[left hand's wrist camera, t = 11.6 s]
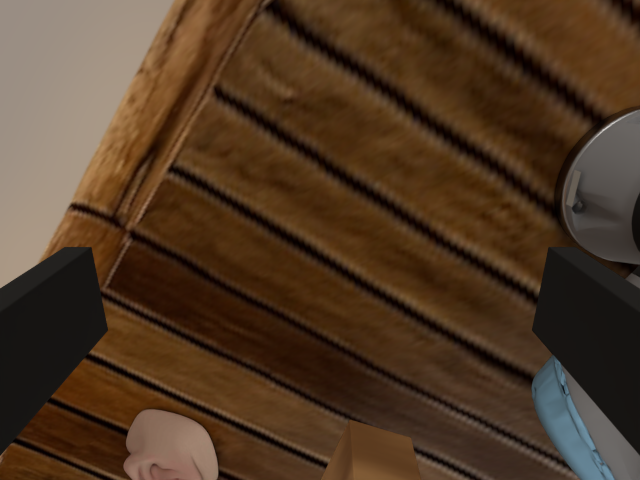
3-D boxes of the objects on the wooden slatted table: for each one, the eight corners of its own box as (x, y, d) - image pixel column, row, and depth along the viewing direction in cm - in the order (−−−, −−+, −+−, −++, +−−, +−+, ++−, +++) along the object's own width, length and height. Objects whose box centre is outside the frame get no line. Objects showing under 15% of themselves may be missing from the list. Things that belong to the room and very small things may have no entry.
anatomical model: (106, 432, 48) (208, 436, 48) (121, 407, 52) (216, 411, 52) (119, 515, 53) (212, 518, 53) (132, 487, 56) (219, 490, 57)
